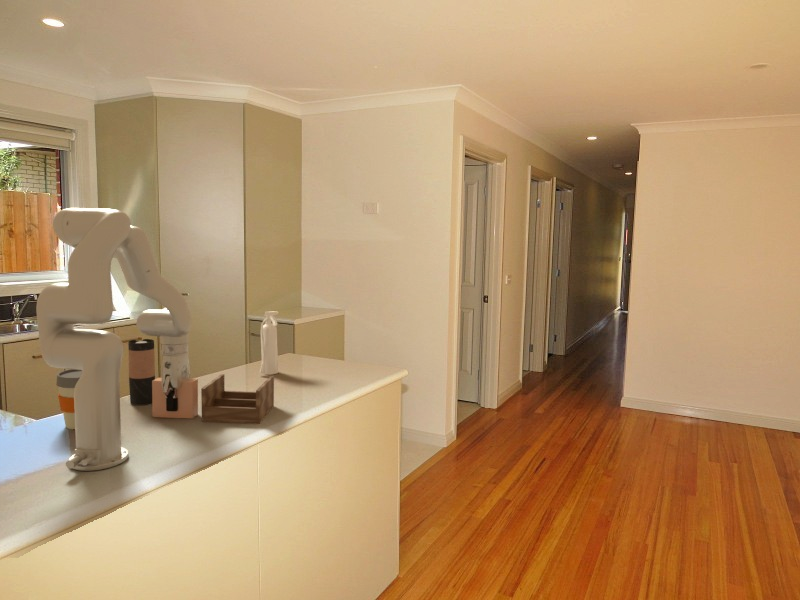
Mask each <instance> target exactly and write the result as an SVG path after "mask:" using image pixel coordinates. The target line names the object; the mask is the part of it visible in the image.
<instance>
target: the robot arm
mask: <svg viewBox="0 0 800 600" xmlns="http://www.w3.org/2000/svg"><path fill="white" fill-rule="evenodd" d="M52 228H53V231H54V235H55V236H56V237H57V239H59V240H60V241H61V242H62V243H64V244H65V245H67V246H69V247H72V248H74V249H73V250H72V251H71V254H70V255H69V258H68V263H67V278H68V279H67V281H68V282H56V283H50V284H49V285H47V286H45V287H44V288H43V289H42V290H41V291H40V292H39V295H38V297H37V300H36V301H37V302H36V309H35V310H36V319H37V320H36V323H37V330H38V340H39V341H38V342H39V349H40V352H41V353H40V354H41V357H42V359H43V362H45V364H46V365H48V366H49V367H51V368H54V369H55V368H56V369H64V370H69V369H75V370H82V371H83V373H82V375H81V377H80V379H79V380H78V382H77V383H76V385H75V388H74V409H75V431H74V432H75V433H74V434H75V449H74V454H72V455H71V456H70V457H69V458H68V460H67V461H66V462H65V466H66V468H67V469H71V470H72V469H73V470H75V471H84V472H85V471H86V472H89V471H99V470H105V469H110V468H113V467H116V466H117V465H120V464H122V463H124V462H125V461H126V460H127V459H128V458H129V450H128V449H126V447H122V430H121V429H122V428H121V427H122V425H121V420H122V419H121V394H120V393H121V389H120V388H121V387H120V384H121V383H120V382H121V381H120V379H121V367H122V362H123V357H124V343H123V340H122V338H120V336H119V335H117V334H116V333H114V332H111V331H108V330H102V329H89V328H88V329H87V328H74V325H79V326H80V325H81V326H98V325H104V324H106V323H108V322H109V321H110V320H111V318H112V316H113V311H114V302H113V299H114V298H113V289H112V274H111V265H112V260H113V259H117V261H118V263H119V265H120V269H121V272H122V274H123V276H124V278H125V283H126V284H127V286H128V287H129V288H130V289H131V290H133V291H134V292H137V293H138V294H141V295H142V296H145V297H148V298H150V299H151V300H153V301H156V302H157V303H159V304H161V305H162V306H163V308H158V309H156V308H155V309H153V308H152V309H146V310H143V311H142V312H140V314H139V315H138V316H137V319H136V322H135V323H136V327H137V330H138V331H139V332H140V333H141V334H143V335H145V336H149V337H160V353H161V355H162V360H161V376H160V378H161V381H162V387H163V393H165V395H166V396H165V397H166V410H167V411H177V410H178V398H176V394H177V389H179V388H181V387H182V382H183V381H184V380H186V379H191V369H190V357H189V333H190V330H191V328H192V317H191V312H190V309H189V306H188V303H187V300H186V298H185V297H184V295H183V294H182V292H180V291H179V290H178V289H177V288H176V287H175V286H174V284H172V283H171V282H170V281H169V280H167V279H166V278H165V277H163V276H162V274H161V272H160V269H159V266H158V264H157V260H156V257H155V254H154V251H153V248H152V246H151V242H150V240H149V239H150V238H149V237H148V234H147V233H146V232H145V230H144V229H143V228H141V227H139V226H136V225H131V219H130V217H129V215H128V214H127V213H126V212H124V211H122V210H119V209H113V208H99V207H98V208H97V207H96V208H95V207H94V208H91V207H90V208H88V207H87V208H86V207H81V208H80V207H69V208H63V209H60V210H59V211H58V212H57V213H56V214H55V215H54V216H53V220H52ZM170 386H173V387H170ZM170 390H173V392H172V391H170Z"/></svg>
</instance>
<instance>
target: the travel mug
mask: <svg viewBox="0 0 800 600" xmlns="http://www.w3.org/2000/svg"><path fill="white" fill-rule="evenodd" d="M127 344H128V349H127V350H128V383H129V384H128V386H129V400H130V405H133V406H145V405H149V404H152V381H153V380H155V379H156V366H155V365H156V364H155V363H156V362H155V361H156V360H155V340H154V339H150V338H145V339H144V338H143V339H142V340H136V339H131V340H128V343H127Z"/></svg>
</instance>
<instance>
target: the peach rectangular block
mask: <svg viewBox="0 0 800 600" xmlns="http://www.w3.org/2000/svg"><path fill="white" fill-rule="evenodd" d="M198 384H199V379H198V378H190V379H186V380H184V381H183V382H182V387H181V388H179V389H177V394H176V398H178V410H177V411H167V410H166V397H165V396H166V395H165V393H163V387H162V381H161V377H157V378H155V380H153V381H152V403H151V404H152V418H167V419H168V418H169V419H170V418H172V419H194V418H195V417H196V416H198V415H199V390H198V389H199V388H198V387H199V385H198ZM170 387H173V386H170ZM170 391H172V392H173V390H170Z"/></svg>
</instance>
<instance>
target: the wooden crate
mask: <svg viewBox="0 0 800 600" xmlns="http://www.w3.org/2000/svg"><path fill="white" fill-rule="evenodd" d="M200 393H201V397H200V398H201V422H202V423H204V422H205V423H222V424H223V423H225V424H226V423H229V424H253V425H260V424H261V423H262V422H263V420H264V419H265V418H266V416H267V415H268V414H269V413H270V411H272V409H273V408H274V406H275V394H274V393H275V376H274V375H270V376H269V377H268V378H267V379H266V380H265V381H264V382H263V383H262V384H261V385H260V386H259V387H258V388H257V389H256V390H255V391H238V390H225V373H221V374H219V375H218V376H217V377H215V378H214V379H213V380H211V381H210V382H209V383H207V384H206V385H204V386H203V387H202V388H201V392H200Z"/></svg>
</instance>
